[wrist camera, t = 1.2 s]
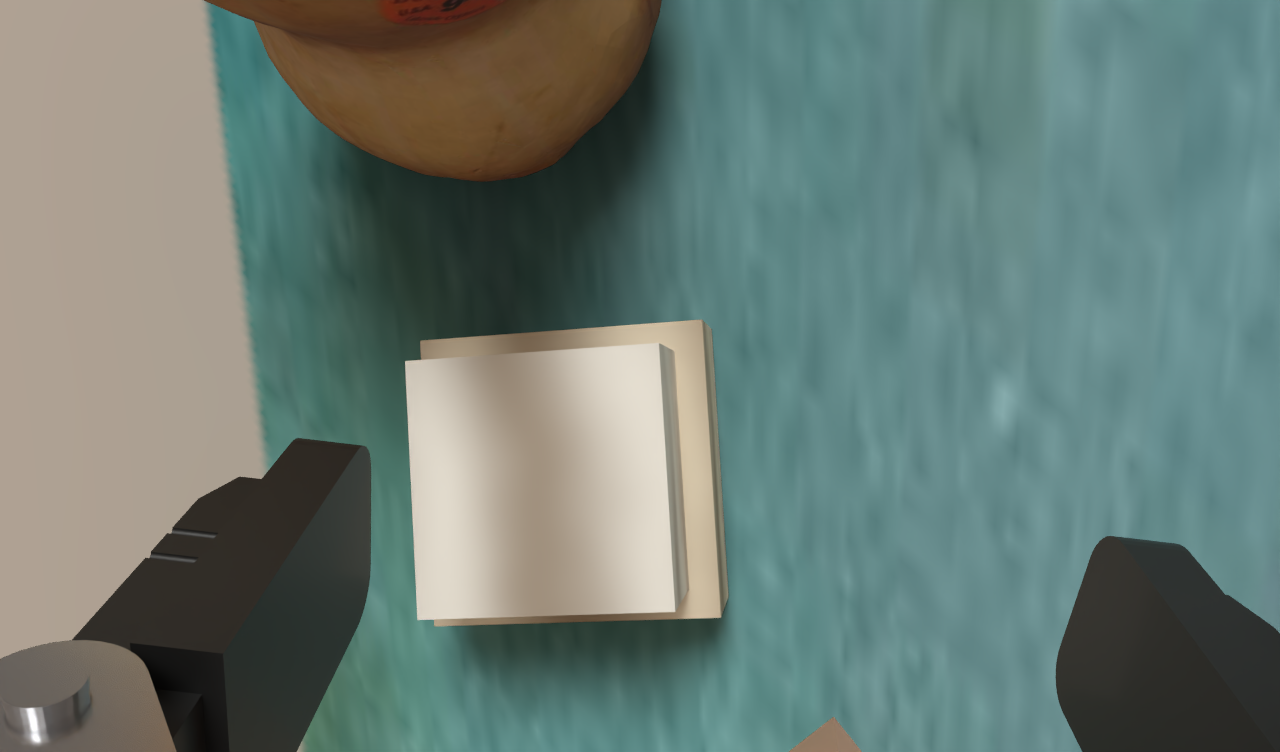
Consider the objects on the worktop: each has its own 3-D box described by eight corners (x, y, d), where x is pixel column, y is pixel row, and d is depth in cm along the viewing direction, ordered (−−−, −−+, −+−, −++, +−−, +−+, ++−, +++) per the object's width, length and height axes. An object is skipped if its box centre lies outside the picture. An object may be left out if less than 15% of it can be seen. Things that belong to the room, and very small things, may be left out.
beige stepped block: (711, 329, 38) (690, 307, 30) (728, 596, 37) (711, 645, 29) (457, 347, 39) (373, 331, 31) (471, 604, 39) (388, 653, 31)
